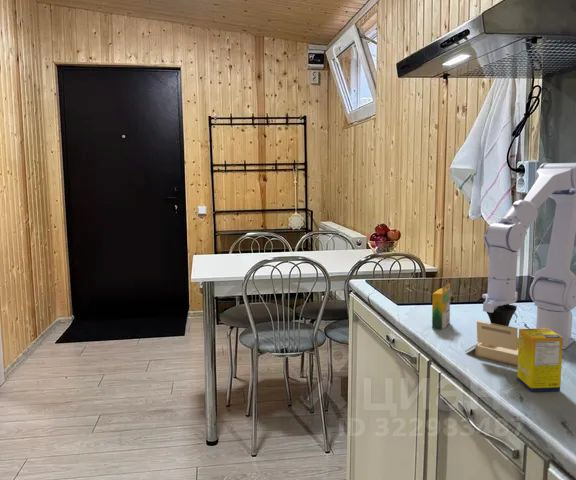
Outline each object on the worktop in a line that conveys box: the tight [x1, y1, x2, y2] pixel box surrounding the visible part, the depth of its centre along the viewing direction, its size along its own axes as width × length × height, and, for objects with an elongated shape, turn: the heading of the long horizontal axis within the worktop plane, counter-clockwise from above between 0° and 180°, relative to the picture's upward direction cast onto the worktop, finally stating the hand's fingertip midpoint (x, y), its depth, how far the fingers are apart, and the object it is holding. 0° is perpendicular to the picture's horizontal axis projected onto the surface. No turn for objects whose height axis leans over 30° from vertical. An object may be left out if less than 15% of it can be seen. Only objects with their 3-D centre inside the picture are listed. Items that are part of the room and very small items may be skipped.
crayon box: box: [431, 282, 451, 330], centre depth 140 cm, size 7×3×12 cm, turn 147°
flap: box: [476, 320, 518, 350], centre depth 112 cm, size 5×9×1 cm
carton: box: [464, 337, 519, 367], centre depth 119 cm, size 15×15×2 cm
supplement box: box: [516, 328, 563, 393], centre depth 100 cm, size 6×6×11 cm
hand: (499, 337), depth 113 cm, fingers closed
